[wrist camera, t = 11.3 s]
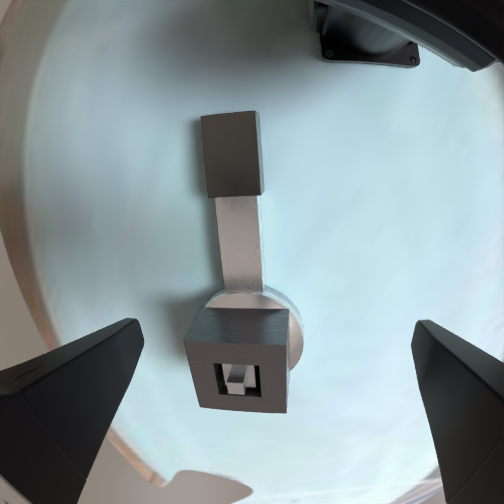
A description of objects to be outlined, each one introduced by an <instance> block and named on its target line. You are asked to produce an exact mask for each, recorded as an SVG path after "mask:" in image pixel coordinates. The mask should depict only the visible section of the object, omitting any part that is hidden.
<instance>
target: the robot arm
mask: <svg viewBox="0 0 504 504" xmlns="http://www.w3.org/2000/svg"><path fill="white" fill-rule="evenodd" d="M307 2H308V9H309V16H310V24H311V30H312V31H313V32H314V33H318V34H319V42H320V50H321V56H322V58H323V59H324V60H325V61H327V62H351V63H369V64H382V65H393V66H402V67H410V68H415V67H416V66H418V65H419V64H420V58H419V51H418V45H420V46H422V47H424V48H425V49H427V50H429V51H431V52H432V53H434V54H436V55H437V56H439V57H441V58H442V59H444V60H446V61H447V62H449V63H450V64H452V65H454V66H457V67H461V68H465V67H466V68H467V69H469V70H470V71H472V72H475V71H479V70H482V69H485V68H487V67H489V66H491V65H492V64H494V63H495V62H500V63H501V64H503V65H504V0H307ZM417 44H418V45H417ZM327 51H330V52H332V53H333V56H332V57H328V56H327V55H326V52H327ZM410 57H411V58H413V59H414V61H415V62H414V63H412V62H411V61H410V59H409V58H410ZM143 346H144V337H143V334H142V330H141V327H140V323H139V321H138V320H137V319H134V318H125V319H123V320H121V321H118V322H116V323H114V324H111V325H109V326H107V327H105V328H102V329H100V330H98V331H96V332H93V333H91V334H89V335H86V336H84V337H82V338H80V339H77V340H75V341H73V342H70V343H68V344H66V345H64V346H61V347H59V348H57V349H54V350H52V351H50V352H47V353H46V354H43V355H40V356H38V357H36V358H33V359H31V360H29V361H26V362H23V363H21V364H18V365H16V366H13V367H10V368H7V369H4V370H2V371H0V504H77V502H78V500H79V497H80V495H81V492H82V490H83V487H84V485H85V483H86V479H87V477H88V475H89V473H90V470H91V468H92V466H93V463H94V461H95V459H96V456H97V454H98V452H99V449H100V447H101V445H102V443H103V440H104V438H105V436H106V434H107V431H108V429H109V427H110V425H111V423H112V420H113V418H114V416H115V414H116V412H117V410H118V407H119V405H120V403H121V401H122V399H123V397H124V395H125V393H126V390H127V388H128V386H129V384H130V382H131V379H132V377H133V374H134V371H135V369H136V366H137V363H138V360H139V357H140V355H141V352H142V349H143ZM411 349H412V354H413V359H414V364H415V369H416V375H417V380H418V385H419V390H420V393H421V397H422V400H423V404H424V407H425V411H426V414H427V418H428V422H429V425H430V429H431V433H432V437H433V441H434V445H435V450H436V454H437V458H438V463H439V468H440V473H441V478H442V483H443V488H444V494H445V500H446V504H504V363H503V362H501V361H500V360H498V359H496V358H495V357H493V356H491V355H490V354H488V353H486V352H484V351H483V350H481V349H479V348H478V347H476V346H474V345H472V344H471V343H469V342H467V341H466V340H464V339H462V338H460V337H459V336H457V335H455V334H454V333H452V332H450V331H448V330H447V329H445V328H443V327H441V326H440V325H438V324H436V323H434V322H433V321H431V320H418V321H417V323H416V325H415V329H414V334H413V338H412V342H411Z"/></svg>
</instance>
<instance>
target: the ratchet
mask: <svg viewBox="0 0 504 504" xmlns="http://www.w3.org/2000/svg"><path fill="white" fill-rule="evenodd" d="M201 122H202V134H203V146H204V158H205V169H206V180H207V190H208V198H215V204H216V214H217V224H218V234H219V243H220V252H221V261H222V270H223V279H224V287H225V288H224V289H222V290H220V291H218V292H217V293H215V294H214V295H213V296H212V297H211V298H210V299H209V300H208V302H207V303H206V305H205V306H204V307H212V308H260V309H289V324H290V371H291V370H292V369H293V368H294V367H295V366H296V364H297V363H298V361H299V359H300V357H301V355H302V351H303V339H304V330H303V322H302V318H301V315H300V313H299V311H298V310H297V308H296V307H295V305H294V304H293V303H292V302H291V301H290V300H289V299H288V298H287V297H286V296H284V295H283V294H282V293H280V292H278V291H276V290H274V289H272V288H270V287H267V286H265V267H264V251H263V235H262V219H261V203H260V195H262V193H263V192H264V178H263V162H262V148H261V133H260V119H259V113H258V112H256V111H245V112H234V113H225V114H216V115H208V116H201ZM222 368H223V374H224V379H225V385H226V386H227V388H228V394H241V395H245V391H246V387H256V384H257V379H258V374H259V366H256V365H235V364H222Z"/></svg>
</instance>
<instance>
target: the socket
mask: <svg viewBox="0 0 504 504" xmlns="http://www.w3.org/2000/svg"><path fill="white" fill-rule="evenodd" d="M183 341H184V345H185V349H186V354H187V358H188V362H189V366H190V370H191V374H192V378H193V382H194V386H195V390H196V394H197V398H198V402H199V405H200V407H203V408H211V409H221V410H232V411H245V412H262V413H287V402H288V389H289V376H290V324H289V309H260V308H212V307H202V308H201V310H200V312H199V313H198V315H197V317H196V319H195V321H194V322H193V324H192V326H191V328H190V330H189V331H188V333H187V335H186V337H185V339H184V340H183ZM222 364H235V365H256V366H259V374H258V379H257V384H256V387H246V391H245V395H241V394H228V388H227V386H226V385H225V379H224V374H223V368H222Z"/></svg>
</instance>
